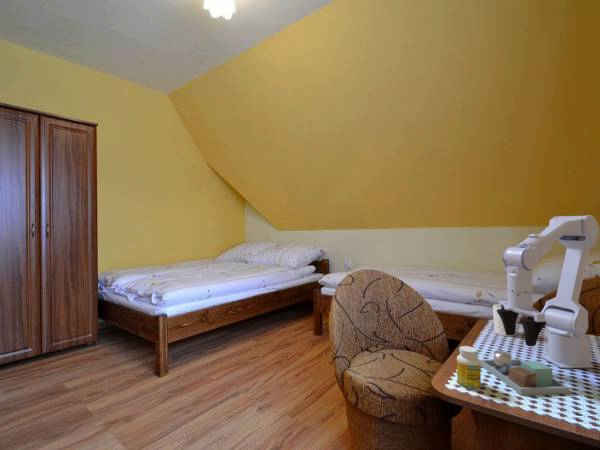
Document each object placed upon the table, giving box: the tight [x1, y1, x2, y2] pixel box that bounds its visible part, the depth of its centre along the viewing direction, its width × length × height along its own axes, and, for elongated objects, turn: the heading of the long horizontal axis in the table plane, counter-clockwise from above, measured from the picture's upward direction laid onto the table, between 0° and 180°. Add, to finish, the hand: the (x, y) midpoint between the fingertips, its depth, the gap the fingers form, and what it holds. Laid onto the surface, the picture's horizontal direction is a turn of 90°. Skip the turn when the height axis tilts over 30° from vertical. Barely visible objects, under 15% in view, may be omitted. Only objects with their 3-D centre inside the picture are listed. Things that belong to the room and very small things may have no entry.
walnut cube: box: [509, 366, 536, 388], centre depth 78 cm, size 4×4×4 cm
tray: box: [479, 358, 570, 396], centre depth 83 cm, size 12×16×2 cm
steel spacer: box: [493, 350, 512, 375], centre depth 86 cm, size 4×4×5 cm
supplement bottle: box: [456, 345, 482, 391], centre depth 79 cm, size 5×5×10 cm
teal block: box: [521, 360, 553, 387], centre depth 80 cm, size 4×4×4 cm
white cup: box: [492, 303, 518, 337], centre depth 118 cm, size 8×8×10 cm
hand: (520, 340), depth 86 cm, fingers open, 7 cm apart
